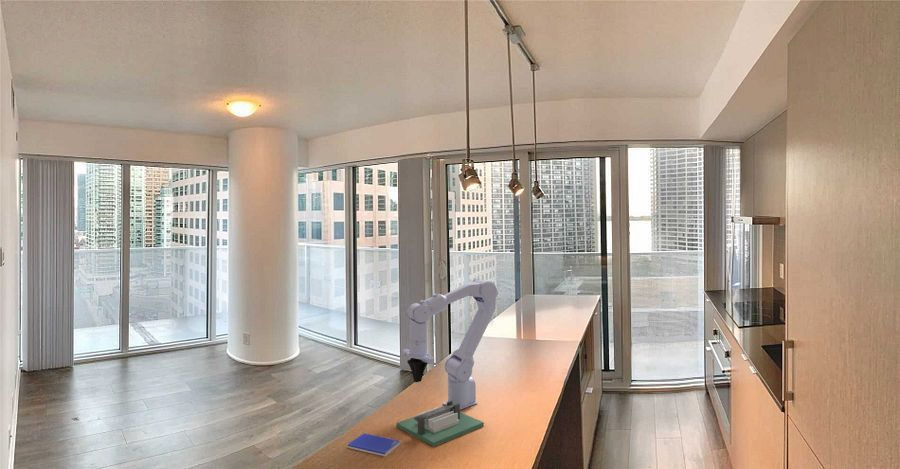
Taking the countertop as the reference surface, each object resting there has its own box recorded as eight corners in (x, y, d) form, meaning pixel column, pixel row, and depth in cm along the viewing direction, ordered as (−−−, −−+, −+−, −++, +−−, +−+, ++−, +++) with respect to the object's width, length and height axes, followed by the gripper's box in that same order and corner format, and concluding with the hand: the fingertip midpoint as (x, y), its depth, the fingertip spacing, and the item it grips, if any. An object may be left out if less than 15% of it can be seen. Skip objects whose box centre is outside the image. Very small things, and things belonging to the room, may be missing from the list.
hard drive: (400, 440, 136) (364, 432, 141) (385, 452, 128) (347, 444, 133) (400, 445, 136) (364, 437, 141) (385, 458, 128) (347, 449, 133)
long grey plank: (452, 406, 151) (452, 403, 151) (456, 408, 150) (456, 405, 150) (413, 420, 141) (413, 417, 141) (417, 422, 140) (417, 419, 140)
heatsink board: (445, 409, 160) (445, 391, 160) (483, 426, 147) (483, 406, 147) (396, 426, 147) (396, 407, 147) (433, 446, 133) (433, 425, 133)
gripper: (395, 338, 160) (395, 378, 160) (422, 346, 149) (421, 389, 149) (412, 335, 165) (411, 374, 165) (439, 342, 154) (439, 384, 154)
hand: (417, 381), depth 157 cm, fingers closed
